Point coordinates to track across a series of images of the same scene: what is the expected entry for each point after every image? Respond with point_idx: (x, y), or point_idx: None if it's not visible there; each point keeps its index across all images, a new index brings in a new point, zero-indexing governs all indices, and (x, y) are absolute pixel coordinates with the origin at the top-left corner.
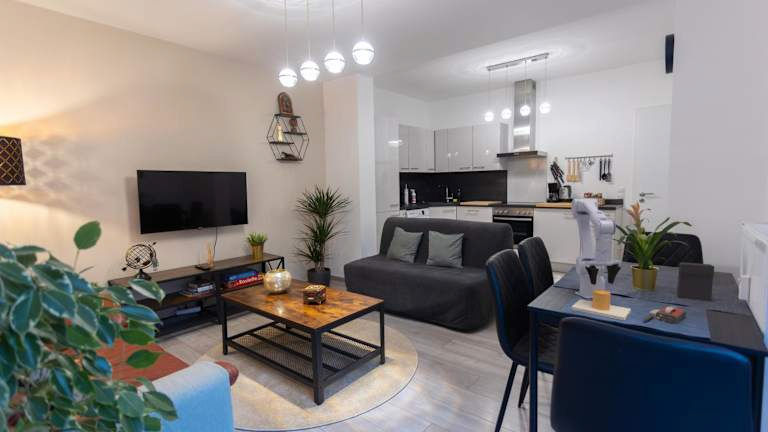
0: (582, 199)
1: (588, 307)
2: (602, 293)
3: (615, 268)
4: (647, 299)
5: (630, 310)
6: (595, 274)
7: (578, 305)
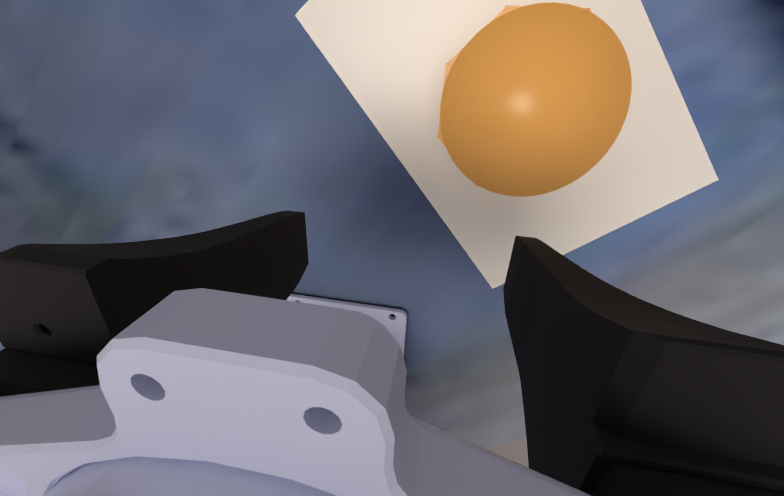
0: None
1: None
2: (605, 25)
3: (123, 279)
4: (78, 207)
5: (310, 3)
6: (612, 295)
7: (631, 189)
